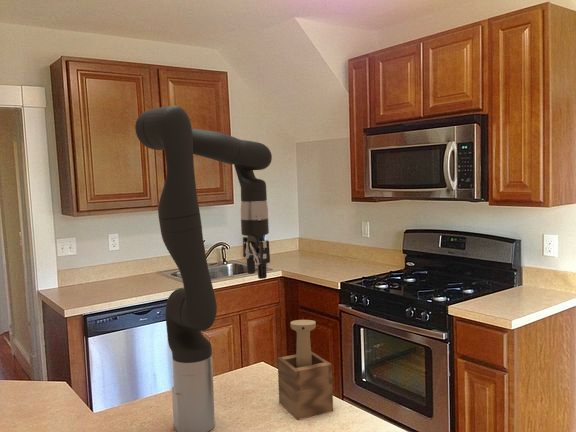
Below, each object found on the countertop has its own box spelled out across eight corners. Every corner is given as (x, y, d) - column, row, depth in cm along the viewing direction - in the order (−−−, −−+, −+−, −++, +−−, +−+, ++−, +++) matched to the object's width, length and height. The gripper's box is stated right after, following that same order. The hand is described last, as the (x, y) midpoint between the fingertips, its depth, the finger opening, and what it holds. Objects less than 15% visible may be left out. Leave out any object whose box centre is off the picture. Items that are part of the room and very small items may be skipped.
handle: (292, 376, 132) (290, 320, 131) (316, 376, 132) (315, 319, 131) (291, 383, 127) (290, 325, 126) (317, 383, 127) (315, 324, 126)
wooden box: (297, 419, 123) (295, 371, 122) (279, 402, 133) (277, 357, 132) (333, 410, 127) (331, 364, 126) (312, 394, 137) (311, 351, 136)
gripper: (233, 217, 144) (235, 273, 145) (250, 219, 131) (253, 281, 132) (257, 215, 147) (259, 270, 148) (277, 218, 134) (279, 278, 135)
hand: (256, 275), depth 140 cm, fingers open, 8 cm apart
